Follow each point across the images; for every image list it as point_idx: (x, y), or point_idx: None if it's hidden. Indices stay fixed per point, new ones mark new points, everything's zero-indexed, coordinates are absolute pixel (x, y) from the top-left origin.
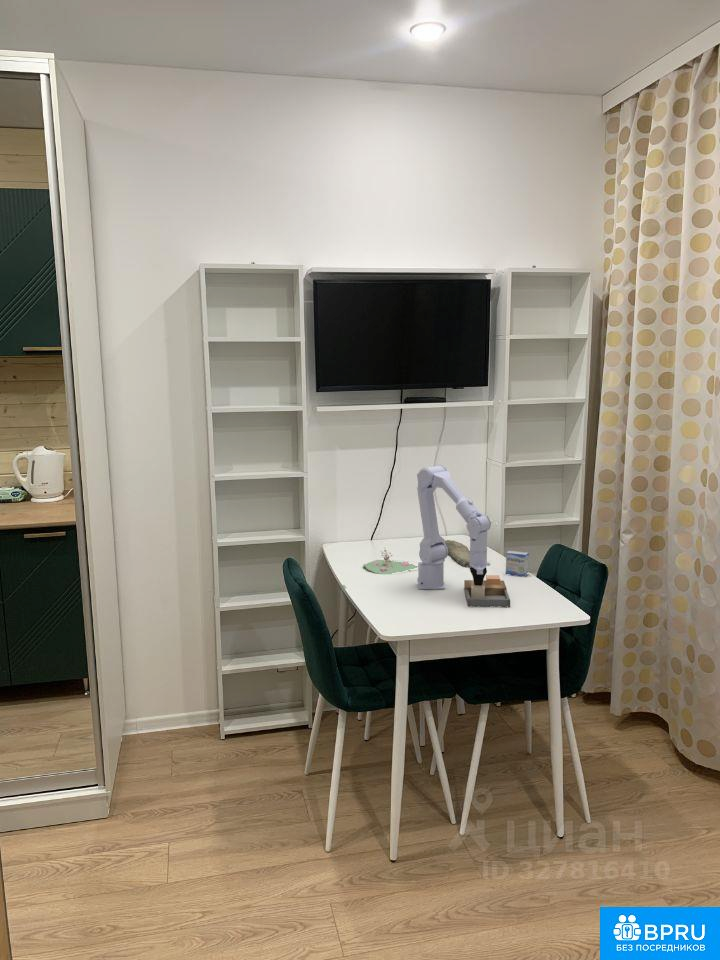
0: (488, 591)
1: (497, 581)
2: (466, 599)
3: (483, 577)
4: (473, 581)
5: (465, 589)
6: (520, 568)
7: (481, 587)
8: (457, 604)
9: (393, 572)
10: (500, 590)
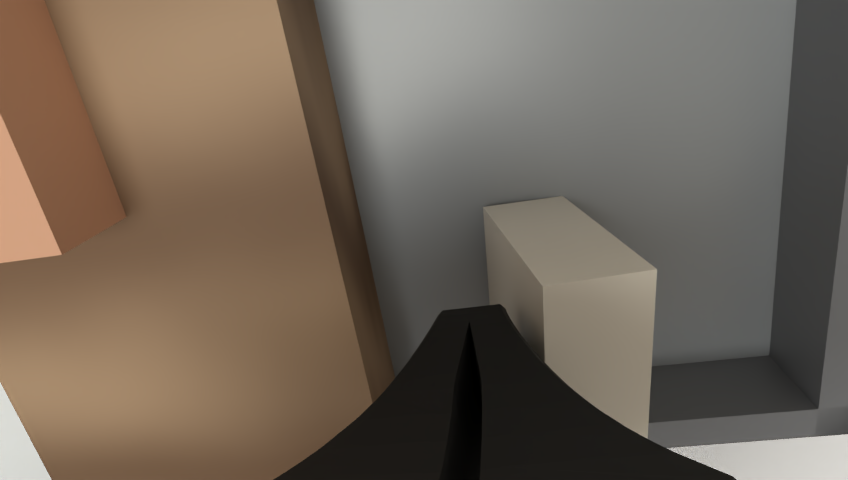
0: (332, 170)
1: (13, 41)
2: None
3: (613, 430)
4: (72, 408)
5: None
6: None
7: (621, 329)
8: (708, 466)
9: None
10: None
